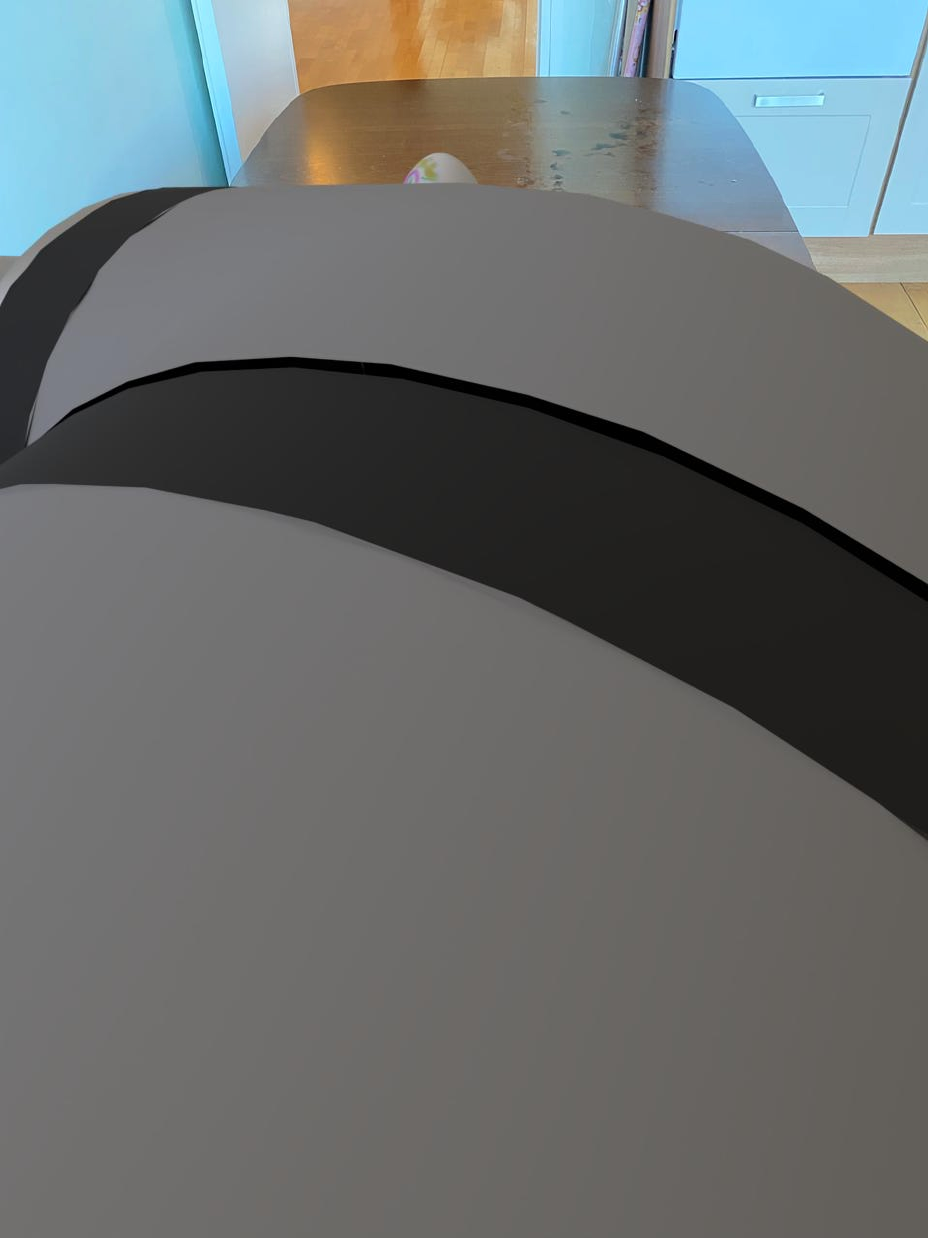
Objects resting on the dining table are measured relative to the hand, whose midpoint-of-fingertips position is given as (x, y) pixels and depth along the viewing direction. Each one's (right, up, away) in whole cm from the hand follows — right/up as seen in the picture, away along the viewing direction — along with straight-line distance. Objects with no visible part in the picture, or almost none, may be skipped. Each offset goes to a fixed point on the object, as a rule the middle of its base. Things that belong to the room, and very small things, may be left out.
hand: (289, 550), depth 37 cm
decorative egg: (+4, +42, +86) cm, 96 cm away
